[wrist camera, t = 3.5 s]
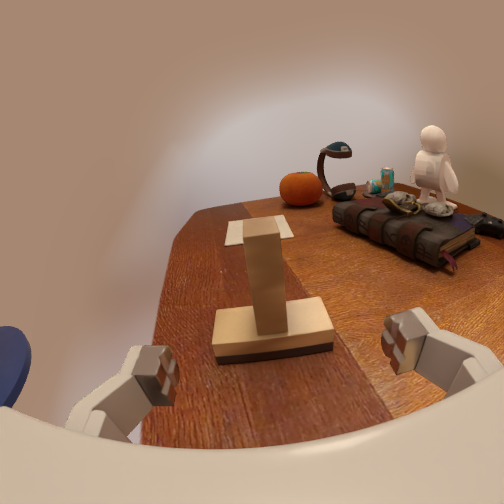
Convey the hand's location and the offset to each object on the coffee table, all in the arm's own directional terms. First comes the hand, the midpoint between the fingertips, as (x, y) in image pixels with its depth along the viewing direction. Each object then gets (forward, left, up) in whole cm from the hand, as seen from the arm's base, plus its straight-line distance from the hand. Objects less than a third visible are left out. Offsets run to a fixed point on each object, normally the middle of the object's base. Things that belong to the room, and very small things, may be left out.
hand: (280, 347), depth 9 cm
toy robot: (+44, +47, -10) cm, 65 cm away
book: (+26, +32, -10) cm, 42 cm away
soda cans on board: (+36, +61, -10) cm, 71 cm away
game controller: (+45, +28, -10) cm, 54 cm away
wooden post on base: (0, +12, -10) cm, 15 cm away
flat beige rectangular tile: (0, +44, -10) cm, 45 cm away
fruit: (+12, +59, -10) cm, 61 cm away
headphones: (+23, +60, -10) cm, 65 cm away
